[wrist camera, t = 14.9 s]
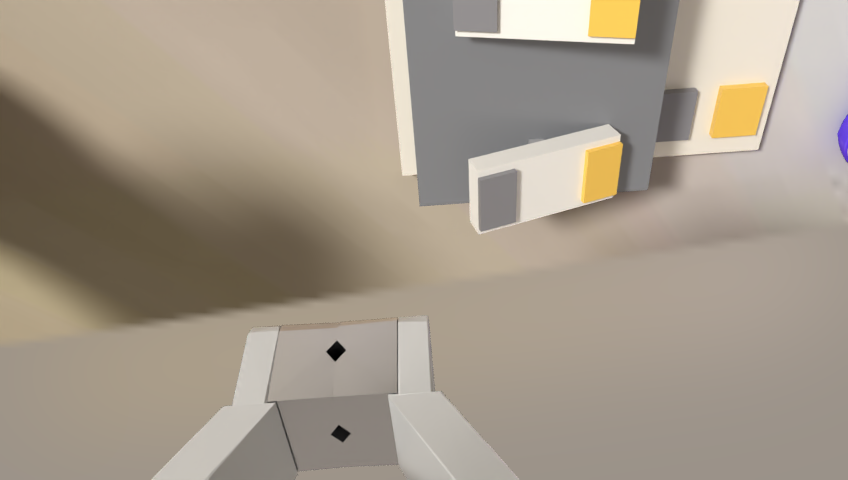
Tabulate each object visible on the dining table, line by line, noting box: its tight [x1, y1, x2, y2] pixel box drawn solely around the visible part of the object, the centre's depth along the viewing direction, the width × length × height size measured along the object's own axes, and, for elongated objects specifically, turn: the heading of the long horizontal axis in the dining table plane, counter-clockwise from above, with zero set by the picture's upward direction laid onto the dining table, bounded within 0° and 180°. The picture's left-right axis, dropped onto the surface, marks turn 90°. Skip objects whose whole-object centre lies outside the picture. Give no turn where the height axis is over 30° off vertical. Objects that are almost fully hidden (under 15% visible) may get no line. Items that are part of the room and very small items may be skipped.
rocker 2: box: [468, 124, 623, 234], centre depth 37 cm, size 8×4×2 cm, turn 94°
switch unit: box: [385, 0, 800, 206], centre depth 37 cm, size 22×16×6 cm
